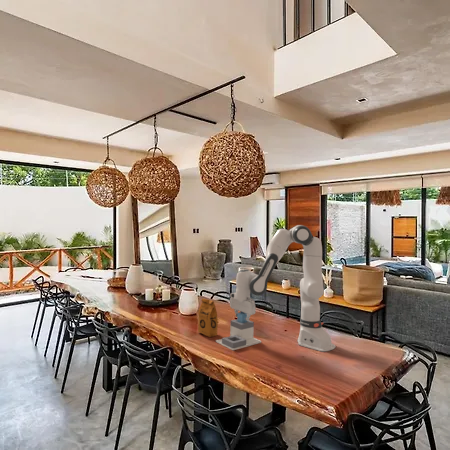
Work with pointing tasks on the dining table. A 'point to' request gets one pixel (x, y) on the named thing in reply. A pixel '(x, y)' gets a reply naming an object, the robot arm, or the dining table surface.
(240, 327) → the square socket plate
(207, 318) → the coffee package
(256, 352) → the dining table surface
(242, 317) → the plug
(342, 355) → the dining table surface
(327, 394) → the dining table surface
